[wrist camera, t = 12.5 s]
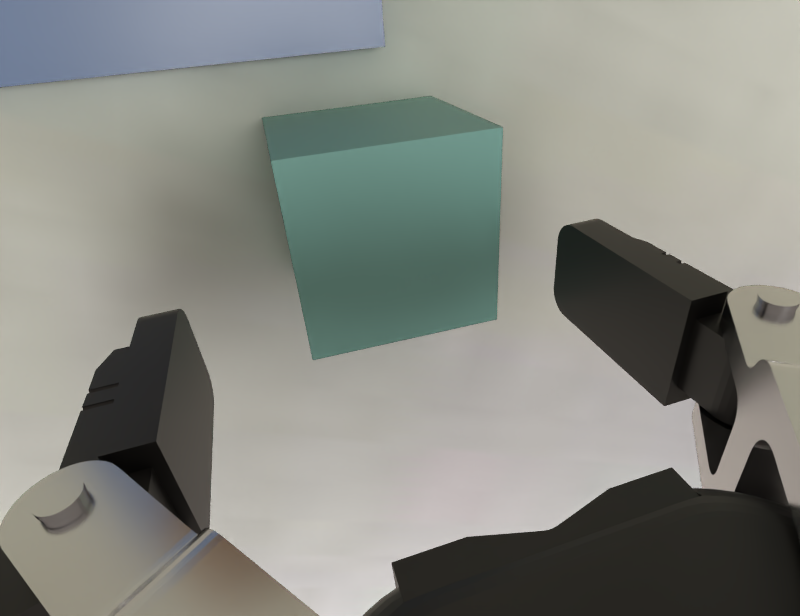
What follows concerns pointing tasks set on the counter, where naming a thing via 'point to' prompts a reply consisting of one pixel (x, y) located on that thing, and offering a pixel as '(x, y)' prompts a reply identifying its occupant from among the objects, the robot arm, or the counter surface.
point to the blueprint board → (172, 34)
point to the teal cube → (389, 219)
